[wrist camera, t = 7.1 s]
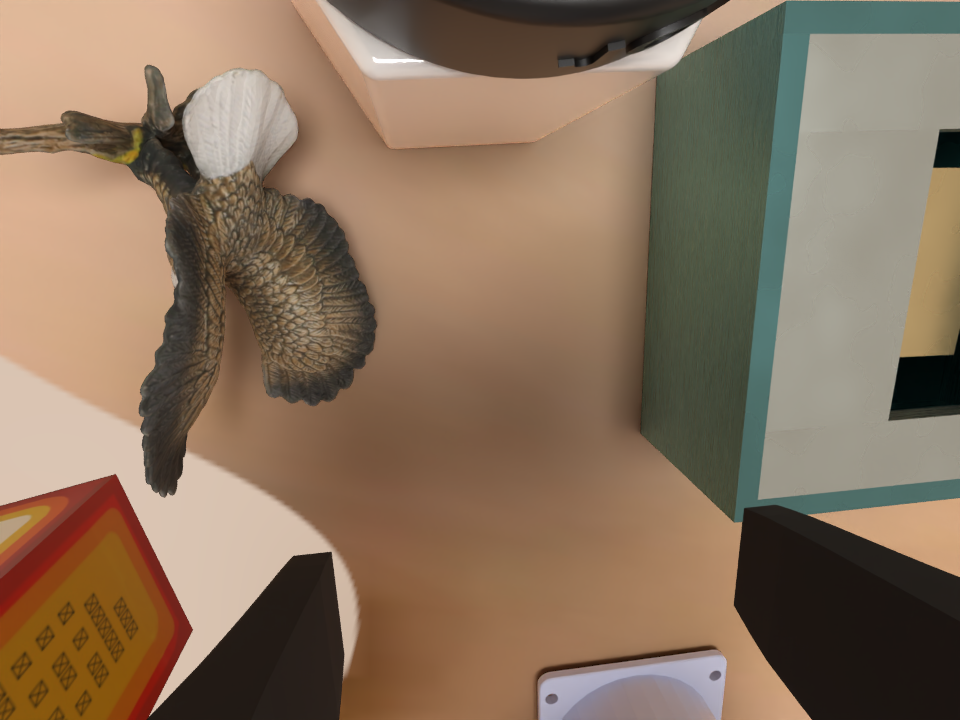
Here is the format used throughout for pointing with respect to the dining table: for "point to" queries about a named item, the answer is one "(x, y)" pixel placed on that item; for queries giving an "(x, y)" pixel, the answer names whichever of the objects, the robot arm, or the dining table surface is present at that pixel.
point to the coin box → (802, 259)
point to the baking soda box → (83, 608)
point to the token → (936, 272)
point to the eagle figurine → (228, 251)
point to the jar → (495, 61)
